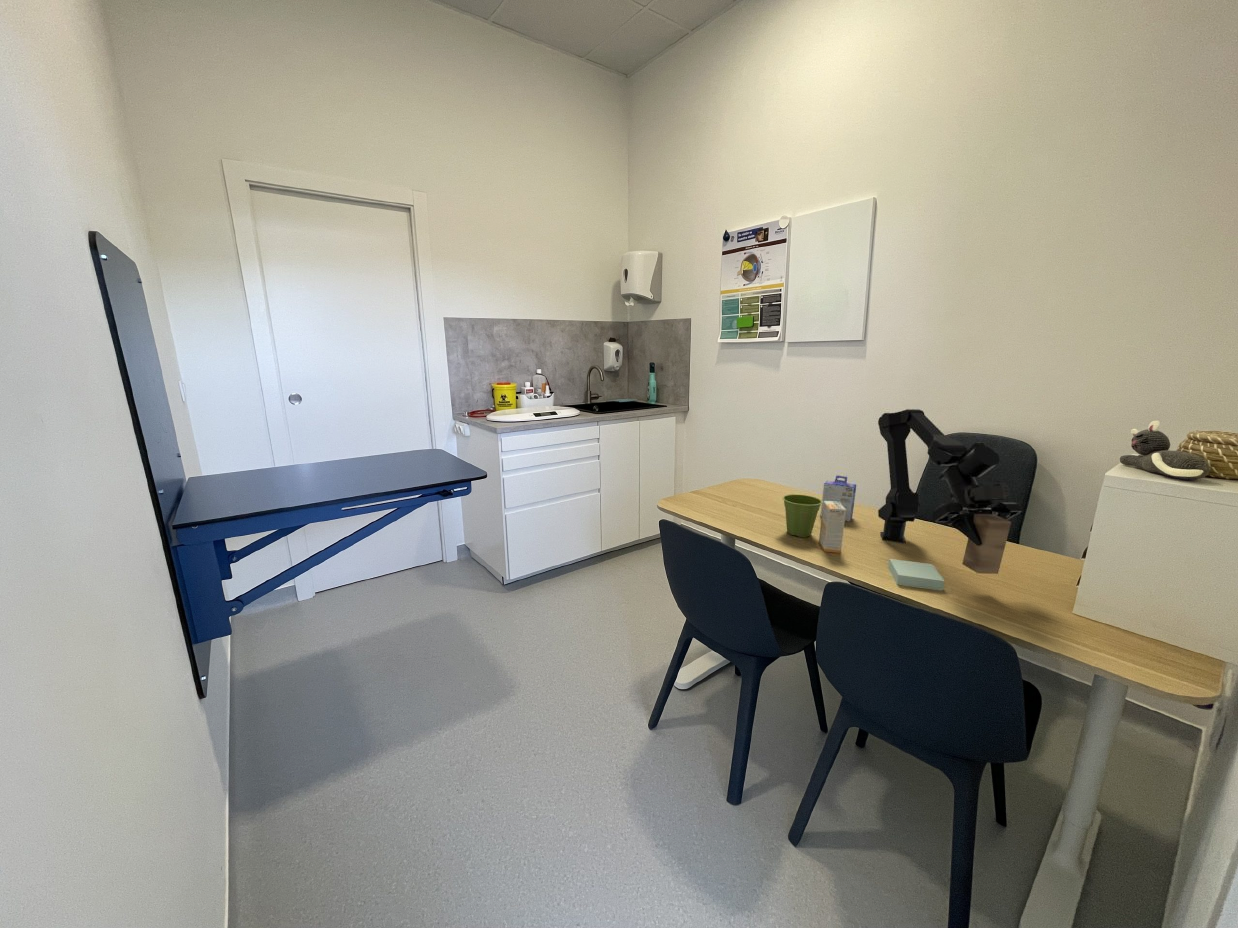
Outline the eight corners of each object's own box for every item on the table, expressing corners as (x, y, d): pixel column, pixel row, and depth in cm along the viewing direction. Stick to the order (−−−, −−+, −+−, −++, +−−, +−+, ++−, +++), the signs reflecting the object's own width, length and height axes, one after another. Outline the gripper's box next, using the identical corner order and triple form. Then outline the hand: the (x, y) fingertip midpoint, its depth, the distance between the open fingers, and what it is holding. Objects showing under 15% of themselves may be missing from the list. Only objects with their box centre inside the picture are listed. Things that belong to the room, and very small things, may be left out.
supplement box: (841, 553, 139) (847, 509, 136) (823, 551, 140) (828, 508, 137) (835, 542, 147) (840, 501, 144) (818, 541, 148) (823, 499, 145)
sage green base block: (888, 569, 130) (889, 558, 130) (930, 574, 127) (932, 564, 127) (896, 585, 121) (898, 574, 120) (942, 592, 118) (944, 581, 117)
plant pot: (826, 535, 152) (830, 501, 150) (803, 543, 146) (807, 507, 143) (794, 524, 162) (798, 491, 159) (771, 531, 155) (774, 497, 153)
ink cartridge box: (852, 517, 169) (858, 477, 166) (850, 522, 165) (856, 481, 161) (822, 512, 174) (827, 473, 171) (819, 516, 170) (824, 476, 166)
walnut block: (962, 564, 119) (973, 513, 116) (981, 564, 120) (993, 514, 116) (977, 573, 114) (990, 521, 111) (998, 573, 115) (1011, 521, 112)
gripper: (948, 470, 115) (976, 531, 106) (1023, 470, 116) (1056, 530, 108) (921, 492, 124) (944, 550, 116) (990, 492, 125) (1018, 549, 117)
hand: (990, 545), depth 114 cm, fingers closed on walnut block, 5 cm apart
